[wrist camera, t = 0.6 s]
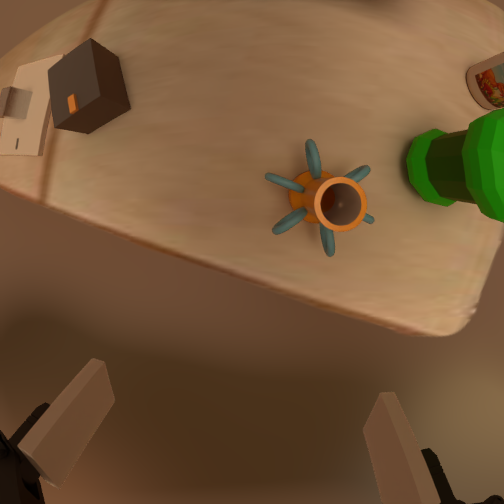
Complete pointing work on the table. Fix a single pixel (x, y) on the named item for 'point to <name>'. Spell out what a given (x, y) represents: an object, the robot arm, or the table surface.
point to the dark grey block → (87, 88)
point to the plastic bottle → (462, 165)
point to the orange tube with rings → (324, 199)
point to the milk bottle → (488, 82)
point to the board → (35, 111)
